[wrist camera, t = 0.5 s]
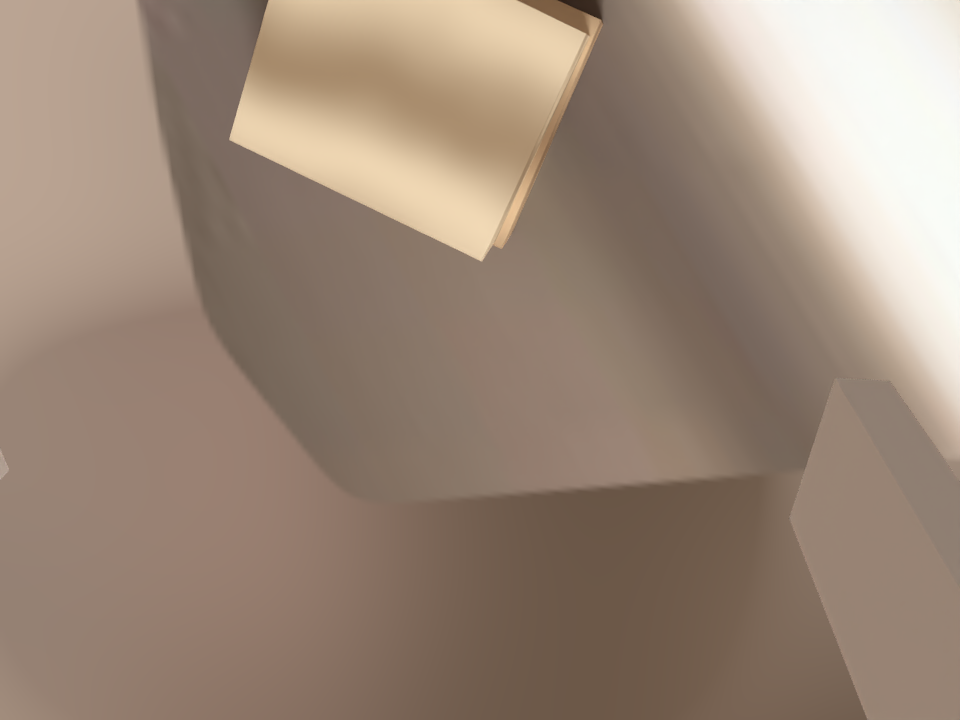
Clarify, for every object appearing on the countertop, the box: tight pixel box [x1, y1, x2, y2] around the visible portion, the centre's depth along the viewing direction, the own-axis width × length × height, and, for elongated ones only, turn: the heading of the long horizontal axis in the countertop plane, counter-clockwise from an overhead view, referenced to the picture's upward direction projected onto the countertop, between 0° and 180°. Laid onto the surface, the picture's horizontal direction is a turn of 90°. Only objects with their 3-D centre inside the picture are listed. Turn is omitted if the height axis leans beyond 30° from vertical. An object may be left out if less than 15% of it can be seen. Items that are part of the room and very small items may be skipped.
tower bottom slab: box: [493, 0, 603, 249], centre depth 33 cm, size 10×12×4 cm
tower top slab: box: [229, 0, 590, 261], centre depth 30 cm, size 9×11×4 cm
